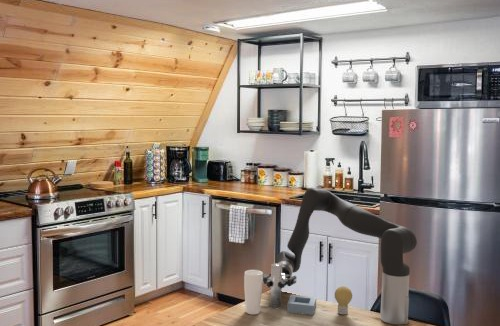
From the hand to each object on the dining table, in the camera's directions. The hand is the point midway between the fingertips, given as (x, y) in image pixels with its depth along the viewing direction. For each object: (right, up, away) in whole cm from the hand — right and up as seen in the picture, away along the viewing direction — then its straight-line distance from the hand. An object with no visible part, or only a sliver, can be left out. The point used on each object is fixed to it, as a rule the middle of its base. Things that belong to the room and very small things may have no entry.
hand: (275, 285), depth 193 cm
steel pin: (0, -9, +3) cm, 9 cm away
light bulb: (+25, -10, -2) cm, 27 cm away
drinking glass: (-8, -9, -3) cm, 13 cm away
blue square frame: (+10, -9, +1) cm, 14 cm away
